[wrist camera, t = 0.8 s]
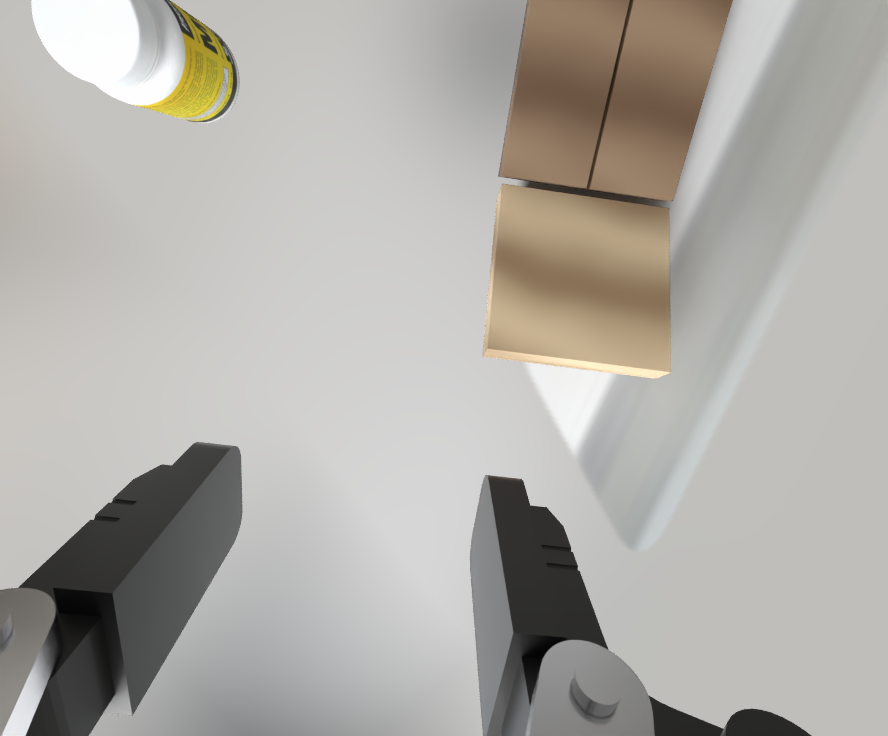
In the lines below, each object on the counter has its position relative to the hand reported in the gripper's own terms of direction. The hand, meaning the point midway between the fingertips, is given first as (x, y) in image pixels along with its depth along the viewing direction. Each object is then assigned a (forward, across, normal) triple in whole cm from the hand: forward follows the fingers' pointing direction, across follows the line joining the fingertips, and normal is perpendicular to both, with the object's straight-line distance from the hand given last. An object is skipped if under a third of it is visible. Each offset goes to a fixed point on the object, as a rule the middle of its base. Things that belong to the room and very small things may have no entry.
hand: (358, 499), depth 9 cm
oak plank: (+18, -9, -2) cm, 20 cm away
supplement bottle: (+22, +13, -10) cm, 27 cm away
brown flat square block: (+21, -9, -12) cm, 26 cm away
